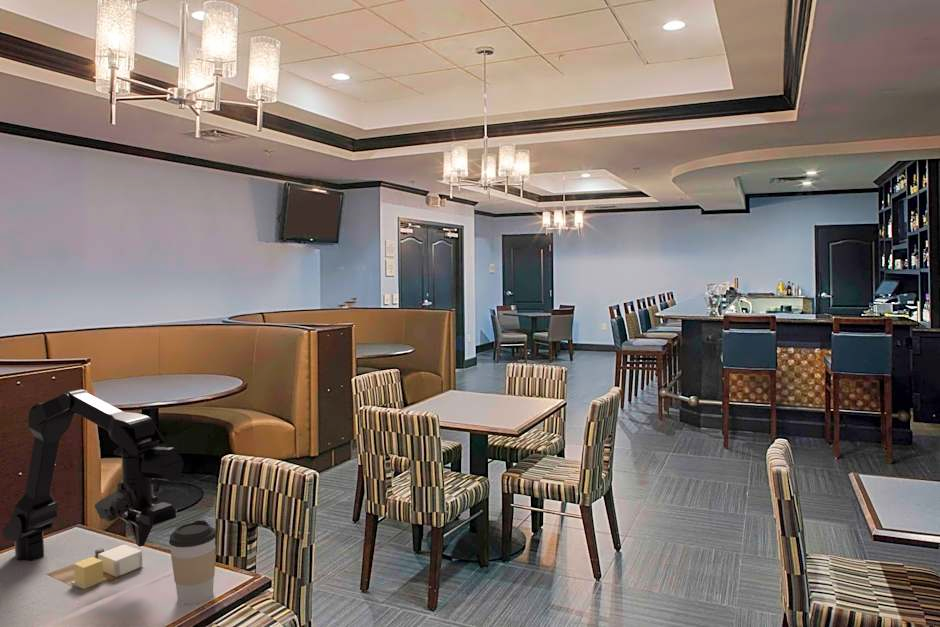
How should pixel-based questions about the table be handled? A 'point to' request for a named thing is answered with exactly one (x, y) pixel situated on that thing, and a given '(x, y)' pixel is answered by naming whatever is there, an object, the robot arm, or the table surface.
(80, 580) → the block
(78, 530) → the table surface
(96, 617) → the table surface
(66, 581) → the board
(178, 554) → the coffee cup
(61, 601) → the table surface
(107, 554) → the cover
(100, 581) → the thin mint green panel
